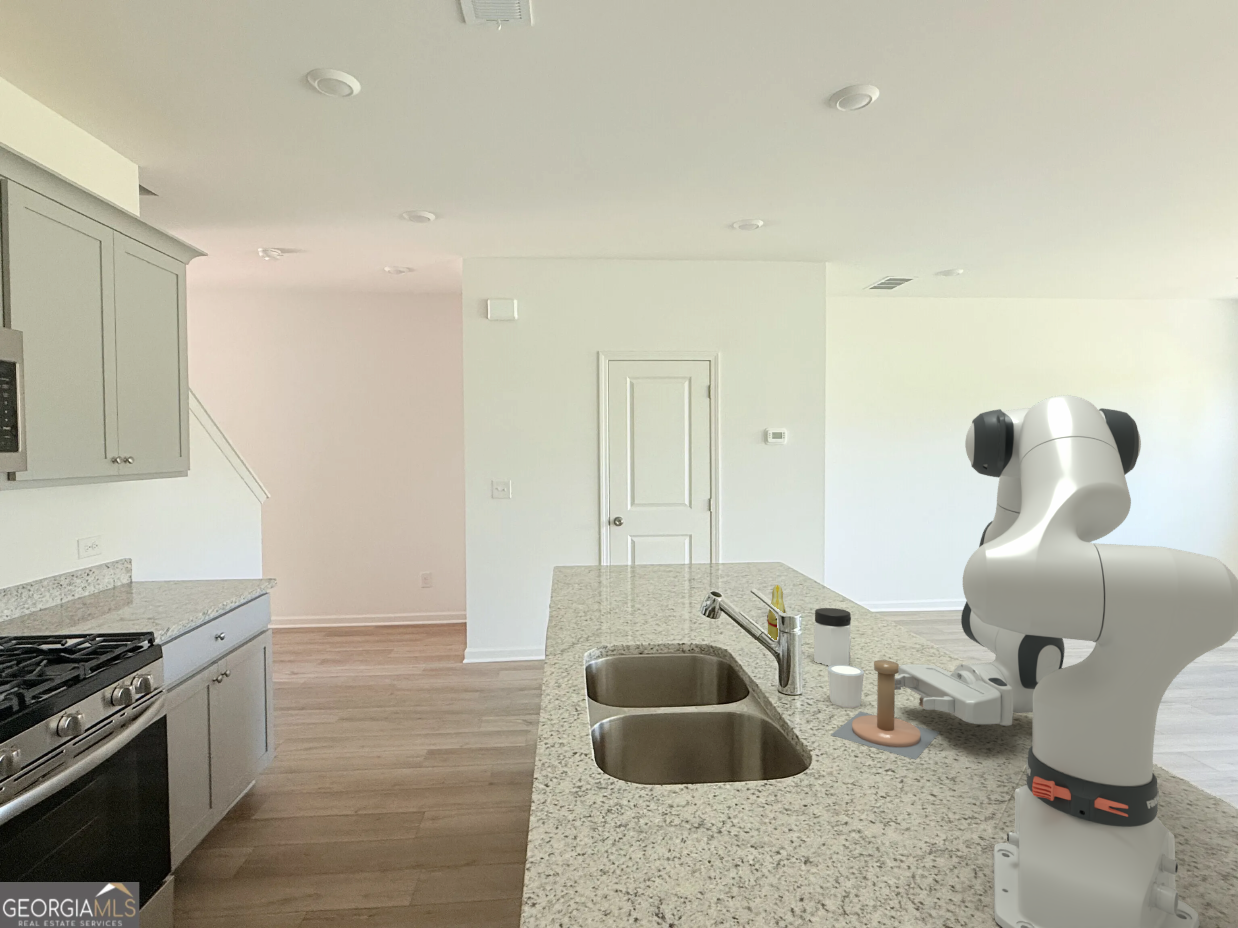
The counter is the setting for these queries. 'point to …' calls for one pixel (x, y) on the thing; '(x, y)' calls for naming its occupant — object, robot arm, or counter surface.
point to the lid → (886, 714)
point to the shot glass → (845, 685)
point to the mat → (909, 752)
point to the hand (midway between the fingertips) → (905, 692)
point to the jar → (832, 636)
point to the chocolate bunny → (772, 620)
